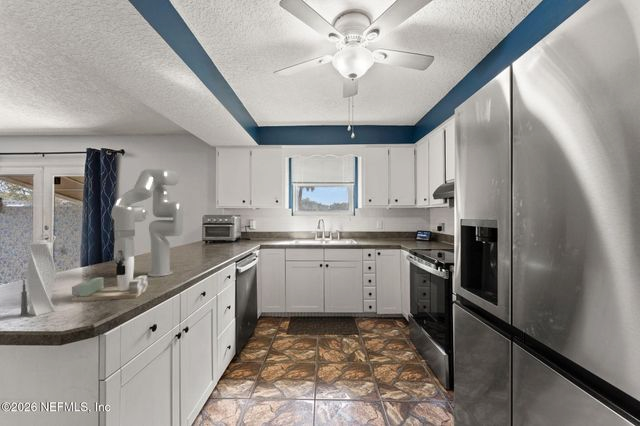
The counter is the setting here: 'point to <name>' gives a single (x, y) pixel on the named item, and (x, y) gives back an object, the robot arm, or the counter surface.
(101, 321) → the counter surface
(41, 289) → the skyscraper
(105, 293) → the vise
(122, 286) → the drinking glass
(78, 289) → the sliding jaw
